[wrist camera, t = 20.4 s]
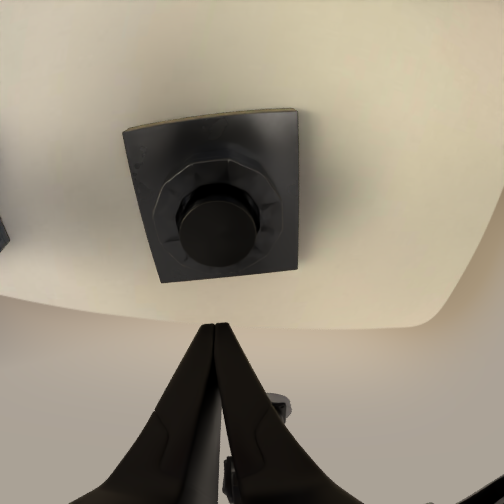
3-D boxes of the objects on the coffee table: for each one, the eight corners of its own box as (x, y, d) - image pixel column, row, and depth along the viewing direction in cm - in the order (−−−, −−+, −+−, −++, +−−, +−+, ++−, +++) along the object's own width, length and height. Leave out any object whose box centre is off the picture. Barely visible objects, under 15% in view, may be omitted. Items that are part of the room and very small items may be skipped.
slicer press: (294, 258, 20) (303, 288, 18) (163, 272, 20) (156, 302, 18) (293, 108, 15) (307, 116, 12) (128, 127, 14) (109, 140, 12)
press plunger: (255, 244, 16) (258, 263, 15) (189, 251, 16) (186, 271, 15) (250, 182, 14) (254, 197, 13) (177, 190, 14) (172, 206, 13)
